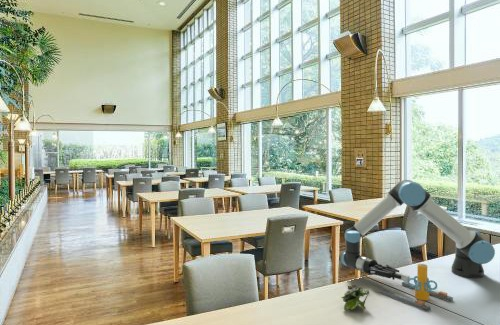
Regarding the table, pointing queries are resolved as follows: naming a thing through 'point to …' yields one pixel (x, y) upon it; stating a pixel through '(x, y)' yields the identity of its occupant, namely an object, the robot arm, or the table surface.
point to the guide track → (417, 303)
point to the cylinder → (422, 283)
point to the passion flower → (354, 297)
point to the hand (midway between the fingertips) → (408, 279)
